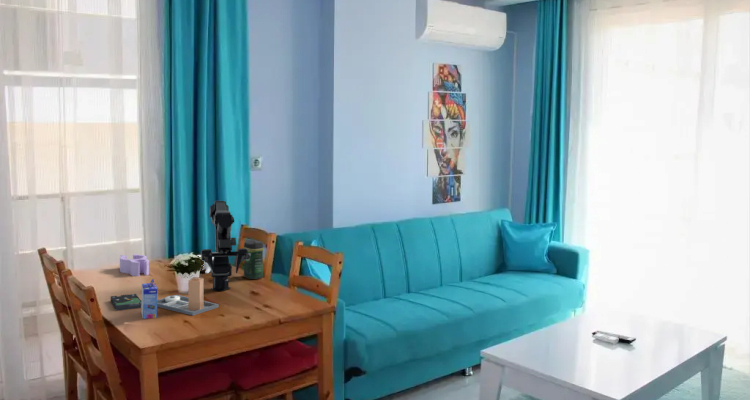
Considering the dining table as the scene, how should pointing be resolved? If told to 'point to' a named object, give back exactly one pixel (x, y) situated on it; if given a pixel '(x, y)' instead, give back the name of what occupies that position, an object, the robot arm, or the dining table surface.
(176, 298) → the grey rectangular tray
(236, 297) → the dining table surface
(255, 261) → the coffee jar
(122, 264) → the clip
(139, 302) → the disk drive
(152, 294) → the ink cartridge box
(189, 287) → the block
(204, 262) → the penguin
